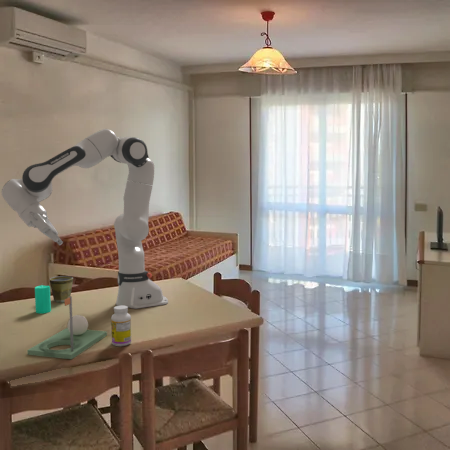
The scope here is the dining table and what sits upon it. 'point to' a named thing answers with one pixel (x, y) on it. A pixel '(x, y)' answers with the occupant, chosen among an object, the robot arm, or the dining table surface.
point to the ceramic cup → (61, 287)
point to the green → (67, 341)
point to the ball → (78, 324)
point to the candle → (42, 299)
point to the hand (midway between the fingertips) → (59, 242)
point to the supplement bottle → (121, 326)
